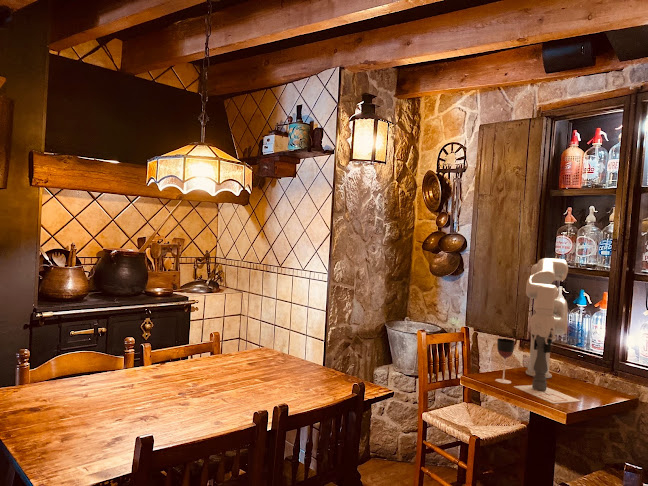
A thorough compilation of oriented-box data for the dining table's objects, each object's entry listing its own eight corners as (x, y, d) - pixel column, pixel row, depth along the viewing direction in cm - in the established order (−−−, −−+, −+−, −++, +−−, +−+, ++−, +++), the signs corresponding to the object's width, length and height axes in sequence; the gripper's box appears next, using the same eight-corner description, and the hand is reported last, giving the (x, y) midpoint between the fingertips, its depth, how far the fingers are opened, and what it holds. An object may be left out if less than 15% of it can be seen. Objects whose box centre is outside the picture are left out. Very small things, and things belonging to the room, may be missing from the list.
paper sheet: (513, 386, 240) (513, 386, 240) (539, 385, 246) (539, 384, 246) (553, 403, 218) (553, 402, 218) (581, 401, 223) (581, 400, 223)
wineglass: (495, 382, 246) (497, 341, 246) (494, 377, 254) (497, 337, 254) (512, 384, 244) (515, 343, 243) (511, 380, 252) (514, 339, 252)
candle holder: (547, 390, 233) (551, 336, 233) (533, 389, 235) (537, 335, 234) (544, 387, 239) (548, 334, 239) (530, 385, 241) (534, 332, 240)
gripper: (524, 309, 243) (522, 347, 243) (552, 315, 227) (549, 355, 227) (536, 309, 246) (534, 346, 246) (565, 315, 230) (562, 355, 230)
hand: (541, 350), depth 237 cm, fingers closed on candle holder, 5 cm apart
